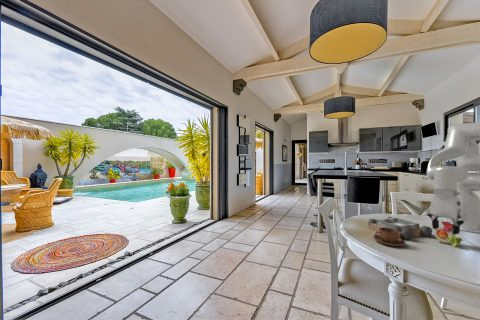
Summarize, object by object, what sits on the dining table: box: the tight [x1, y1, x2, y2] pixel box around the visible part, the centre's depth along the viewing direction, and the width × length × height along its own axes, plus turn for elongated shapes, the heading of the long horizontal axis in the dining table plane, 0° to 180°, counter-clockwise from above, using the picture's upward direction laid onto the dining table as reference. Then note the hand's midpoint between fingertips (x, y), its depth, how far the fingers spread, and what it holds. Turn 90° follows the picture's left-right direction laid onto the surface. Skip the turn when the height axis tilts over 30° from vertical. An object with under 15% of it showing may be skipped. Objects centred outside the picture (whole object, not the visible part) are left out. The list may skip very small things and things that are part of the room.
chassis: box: [367, 216, 433, 241], centre depth 110 cm, size 22×20×6 cm
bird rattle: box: [433, 220, 463, 247], centre depth 94 cm, size 6×11×9 cm
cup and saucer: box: [373, 228, 406, 247], centre depth 95 cm, size 12×12×6 cm
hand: (445, 230), depth 94 cm, fingers closed on bird rattle, 6 cm apart
